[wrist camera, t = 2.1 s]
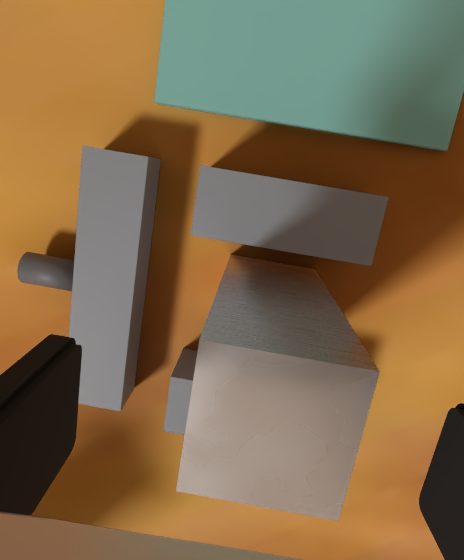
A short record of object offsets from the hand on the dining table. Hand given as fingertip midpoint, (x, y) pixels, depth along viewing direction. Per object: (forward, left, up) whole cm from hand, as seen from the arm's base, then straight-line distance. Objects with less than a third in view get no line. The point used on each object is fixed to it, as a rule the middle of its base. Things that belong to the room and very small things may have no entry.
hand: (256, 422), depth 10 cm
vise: (+4, 0, -12) cm, 13 cm away
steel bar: (-1, 0, -12) cm, 12 cm away
